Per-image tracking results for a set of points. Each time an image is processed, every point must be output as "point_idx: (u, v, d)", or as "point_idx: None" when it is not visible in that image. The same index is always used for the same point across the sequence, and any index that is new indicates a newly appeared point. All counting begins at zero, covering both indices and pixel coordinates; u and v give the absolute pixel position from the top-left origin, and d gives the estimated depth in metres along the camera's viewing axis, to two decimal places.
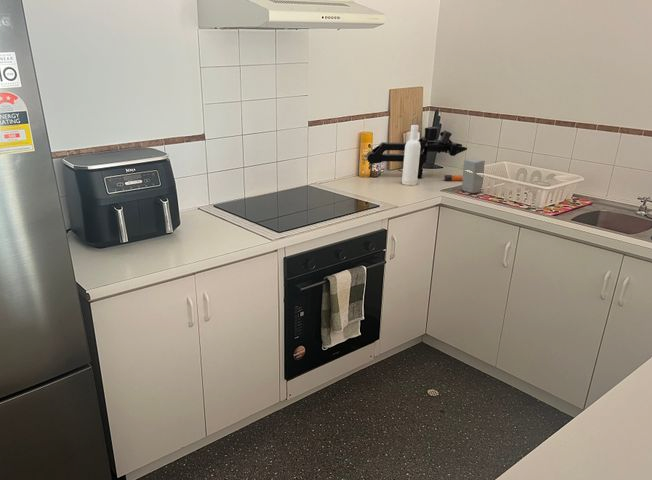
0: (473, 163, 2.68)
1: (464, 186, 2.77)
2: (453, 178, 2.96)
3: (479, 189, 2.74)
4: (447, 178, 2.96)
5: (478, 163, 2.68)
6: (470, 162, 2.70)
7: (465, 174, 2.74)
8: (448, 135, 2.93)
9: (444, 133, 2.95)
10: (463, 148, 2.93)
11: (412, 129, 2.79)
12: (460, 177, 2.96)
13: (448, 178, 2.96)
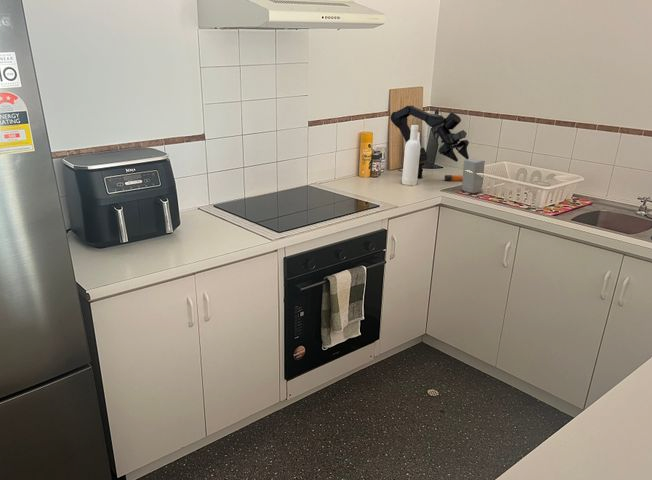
0: (473, 163, 2.68)
1: (464, 186, 2.77)
2: (453, 178, 2.96)
3: (479, 189, 2.74)
4: (447, 178, 2.95)
5: (478, 163, 2.68)
6: (470, 162, 2.70)
7: (465, 174, 2.74)
8: (457, 136, 2.75)
9: None
10: (454, 157, 2.76)
11: (412, 129, 2.79)
12: (460, 177, 2.95)
13: (448, 178, 2.96)
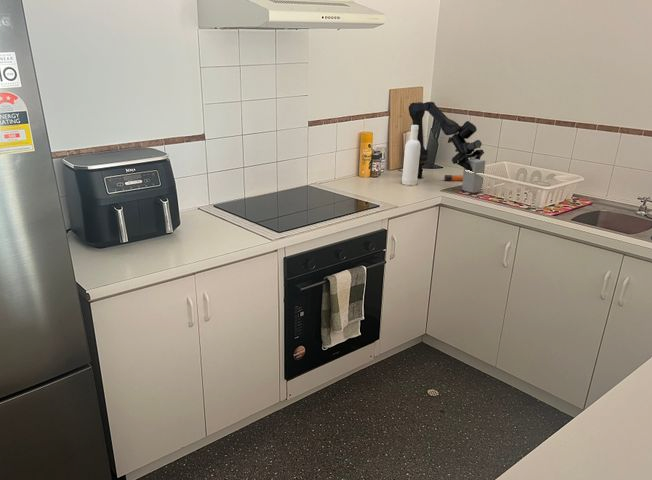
0: (474, 163, 2.68)
1: (464, 186, 2.77)
2: (453, 178, 2.96)
3: (479, 189, 2.74)
4: (447, 178, 2.96)
5: (479, 163, 2.68)
6: (471, 162, 2.70)
7: (465, 174, 2.74)
8: (472, 146, 2.68)
9: None
10: (468, 167, 2.70)
11: (412, 129, 2.79)
12: (460, 177, 2.96)
13: (448, 178, 2.96)
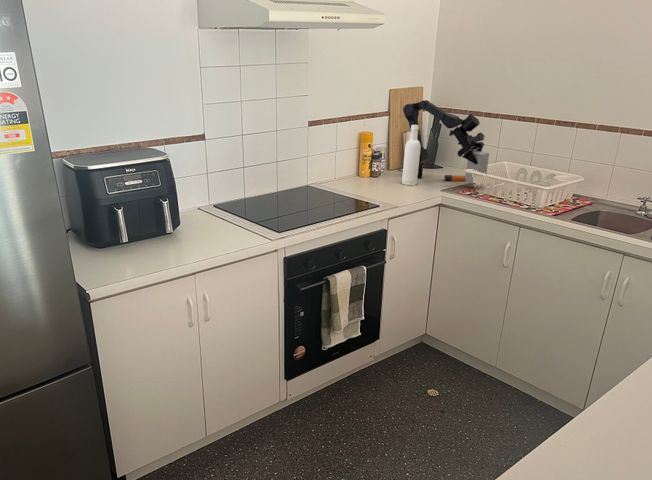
0: (479, 155, 2.72)
1: (468, 178, 2.81)
2: (453, 178, 2.96)
3: None
4: (447, 178, 2.95)
5: (484, 155, 2.73)
6: (476, 154, 2.74)
7: (470, 166, 2.78)
8: (477, 139, 2.72)
9: None
10: (474, 160, 2.74)
11: (412, 129, 2.79)
12: (460, 177, 2.95)
13: (448, 178, 2.96)
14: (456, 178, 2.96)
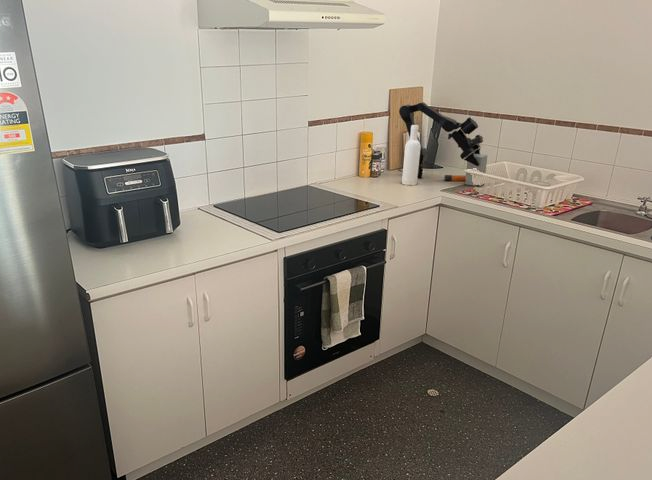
0: (480, 158, 2.79)
1: (468, 180, 2.87)
2: (453, 178, 2.96)
3: None
4: (447, 178, 2.96)
5: (484, 157, 2.80)
6: (476, 157, 2.81)
7: None
8: (477, 141, 2.79)
9: (477, 137, 2.80)
10: (475, 162, 2.80)
11: (412, 129, 2.79)
12: (460, 177, 2.96)
13: (448, 178, 2.96)
14: (456, 178, 2.96)
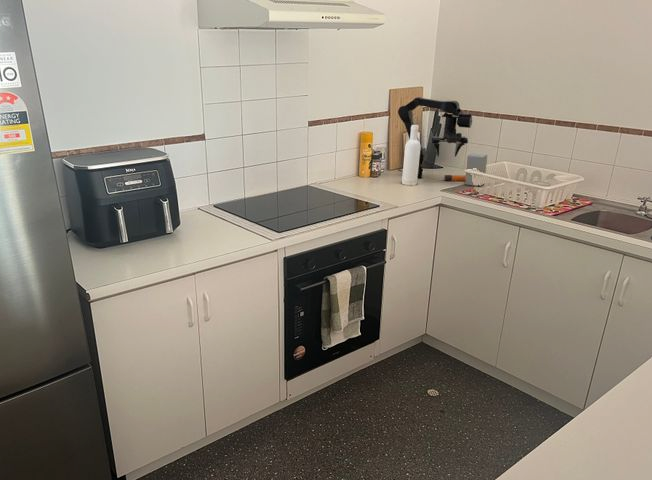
0: (480, 158, 2.79)
1: (468, 180, 2.87)
2: (453, 178, 2.96)
3: None
4: (447, 178, 2.96)
5: (484, 157, 2.80)
6: (476, 157, 2.81)
7: None
8: (447, 139, 2.82)
9: (453, 136, 2.81)
10: (436, 152, 2.91)
11: (412, 129, 2.79)
12: (460, 177, 2.96)
13: (448, 178, 2.96)
14: (456, 178, 2.96)
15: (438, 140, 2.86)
